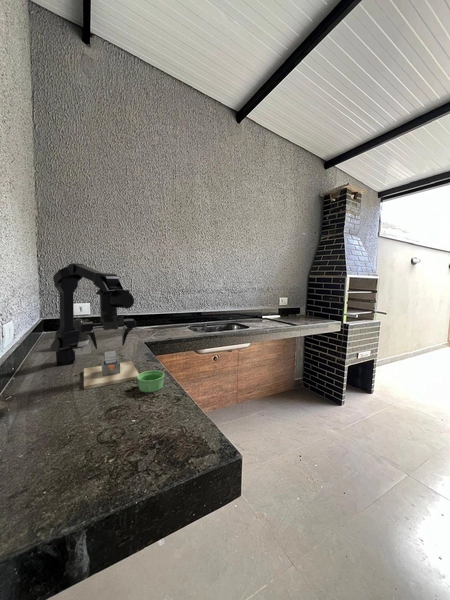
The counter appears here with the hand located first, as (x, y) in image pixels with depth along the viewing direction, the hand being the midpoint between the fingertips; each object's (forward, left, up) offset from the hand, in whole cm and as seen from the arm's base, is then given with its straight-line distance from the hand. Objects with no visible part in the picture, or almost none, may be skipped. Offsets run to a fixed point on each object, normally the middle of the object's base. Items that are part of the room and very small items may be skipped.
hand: (110, 347), depth 92 cm
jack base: (0, 0, -11) cm, 11 cm away
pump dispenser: (-11, +51, -11) cm, 53 cm away
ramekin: (+11, -18, -11) cm, 24 cm away
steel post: (0, 0, -10) cm, 10 cm away
